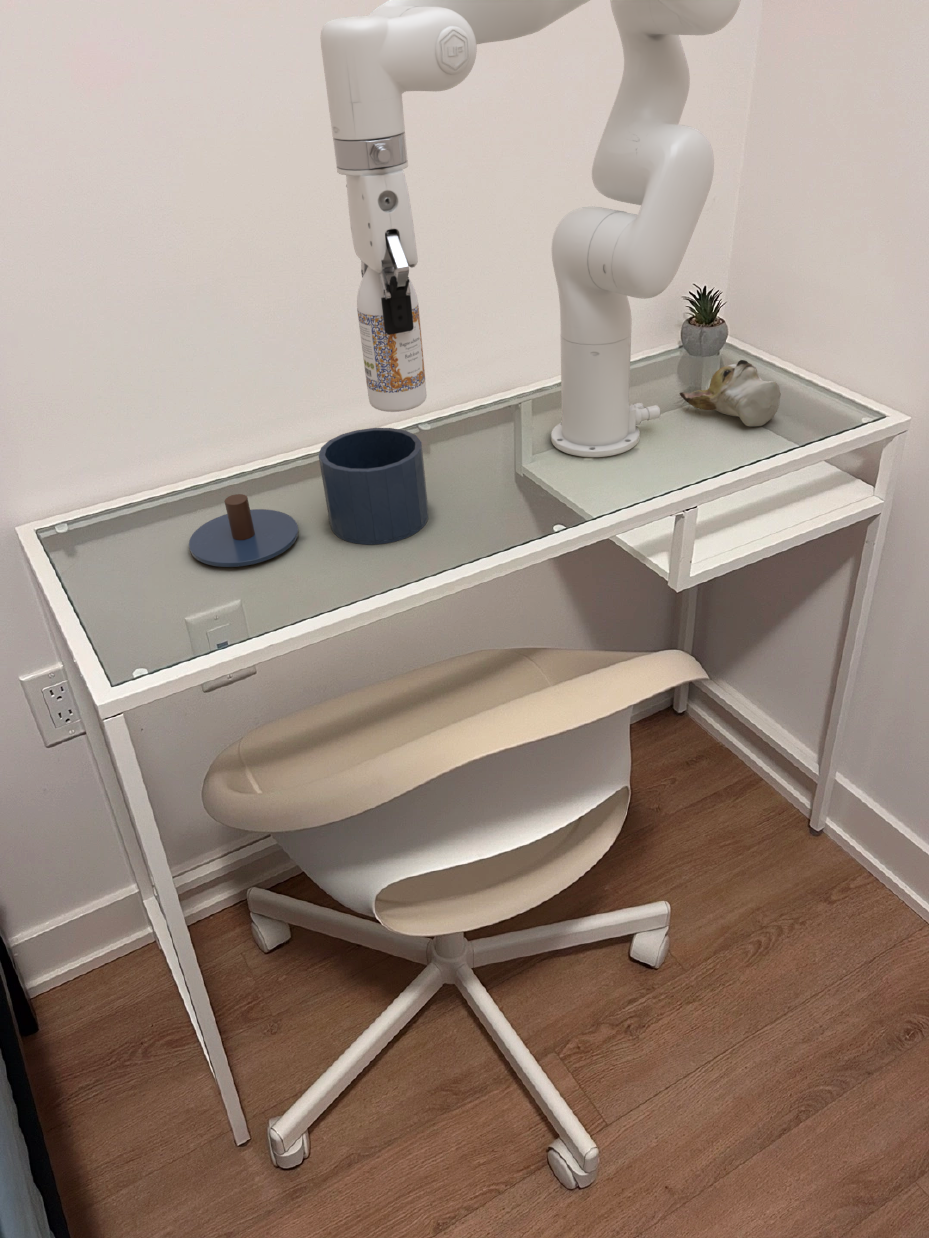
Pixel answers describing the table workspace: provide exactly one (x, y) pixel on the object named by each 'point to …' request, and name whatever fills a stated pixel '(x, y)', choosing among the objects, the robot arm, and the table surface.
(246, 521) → the tin lid
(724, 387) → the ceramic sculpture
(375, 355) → the bath foam
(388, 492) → the tin
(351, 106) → the robot arm
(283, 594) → the table surface
